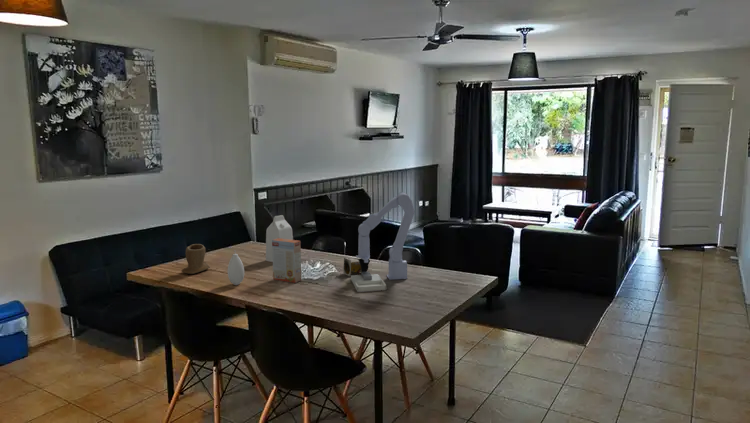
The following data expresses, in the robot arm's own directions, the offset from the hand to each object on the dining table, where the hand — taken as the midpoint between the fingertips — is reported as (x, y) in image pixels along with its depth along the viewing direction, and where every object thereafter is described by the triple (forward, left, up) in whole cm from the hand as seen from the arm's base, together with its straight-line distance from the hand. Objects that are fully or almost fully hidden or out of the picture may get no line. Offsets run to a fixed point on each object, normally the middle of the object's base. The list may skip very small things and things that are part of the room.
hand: (364, 272), depth 278 cm
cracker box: (+39, -3, -3) cm, 39 cm away
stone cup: (+86, -28, -3) cm, 91 cm away
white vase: (+64, 0, -3) cm, 64 cm away
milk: (+42, -45, -3) cm, 62 cm away
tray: (0, +18, -3) cm, 18 cm away
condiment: (+8, -7, +2) cm, 11 cm away
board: (0, +7, -3) cm, 8 cm away
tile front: (0, +9, -1) cm, 9 cm away
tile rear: (0, +5, -1) cm, 5 cm away
